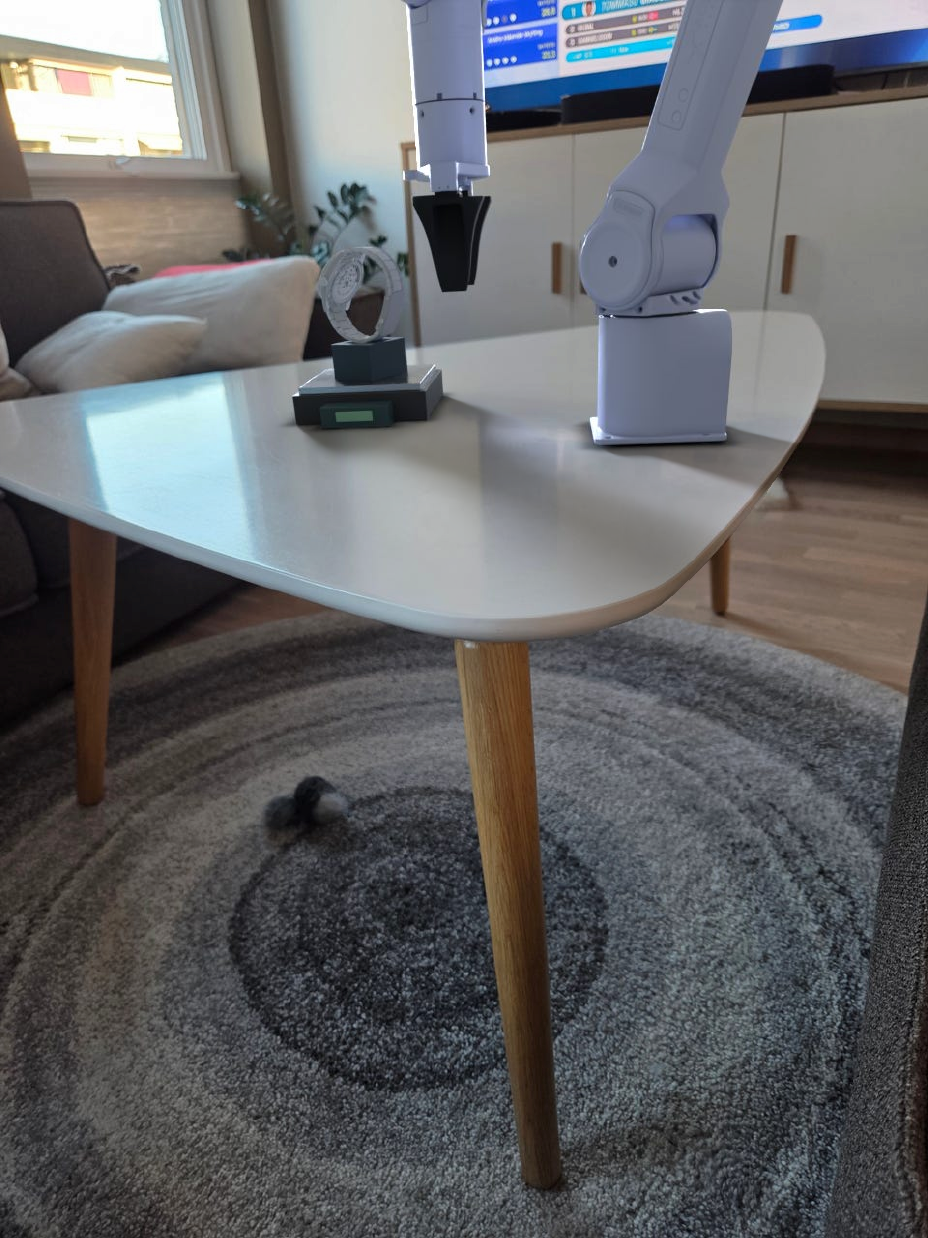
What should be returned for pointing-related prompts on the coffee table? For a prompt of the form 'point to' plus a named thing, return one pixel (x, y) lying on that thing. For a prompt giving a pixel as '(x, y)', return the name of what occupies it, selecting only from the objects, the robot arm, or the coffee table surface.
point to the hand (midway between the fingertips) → (458, 288)
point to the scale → (368, 406)
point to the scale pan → (400, 382)
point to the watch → (361, 352)
